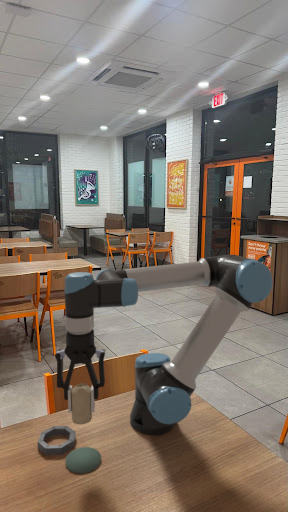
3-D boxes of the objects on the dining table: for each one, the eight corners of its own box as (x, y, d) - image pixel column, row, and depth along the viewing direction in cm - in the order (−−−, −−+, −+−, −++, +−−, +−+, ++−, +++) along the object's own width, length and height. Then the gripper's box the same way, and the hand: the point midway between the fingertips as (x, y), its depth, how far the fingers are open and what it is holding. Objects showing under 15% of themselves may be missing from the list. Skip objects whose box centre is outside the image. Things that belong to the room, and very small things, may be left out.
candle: (87, 426, 97) (87, 391, 95) (68, 423, 98) (67, 389, 97) (94, 414, 102) (94, 381, 101) (76, 412, 103) (75, 379, 102)
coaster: (102, 448, 107) (102, 446, 107) (99, 473, 97) (99, 471, 97) (68, 449, 107) (68, 447, 107) (62, 474, 97) (62, 472, 97)
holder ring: (77, 431, 115) (76, 425, 115) (71, 454, 104) (71, 447, 104) (43, 432, 114) (43, 426, 114) (35, 455, 104) (34, 448, 104)
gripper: (114, 324, 101) (115, 401, 104) (48, 325, 100) (51, 403, 103) (113, 334, 93) (114, 416, 96) (42, 335, 92) (45, 418, 96)
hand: (81, 409), depth 100 cm, fingers closed on candle, 5 cm apart
